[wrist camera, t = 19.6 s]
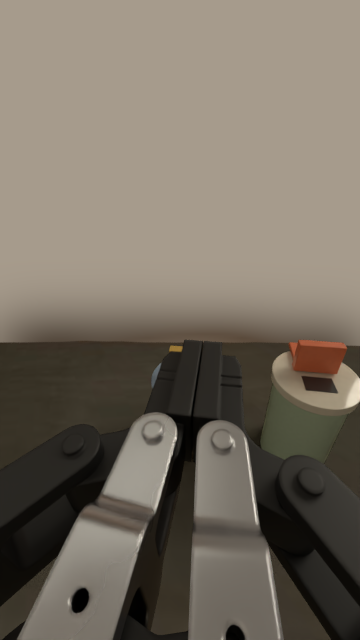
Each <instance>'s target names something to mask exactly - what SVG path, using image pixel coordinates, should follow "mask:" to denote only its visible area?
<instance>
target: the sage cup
mask: <svg viewBox="0 0 360 640" xmlns="http://www.w3.org/2000/svg"><path fill="white" fill-rule="evenodd" d="M292 363H293V358H292V355H291V351H289V352H286V353H283V354H281V355H280V356H278V357H277V358H276V359H275V361H274V362H273V365H272V370H271V379H272V382H273V383H272V387H271V392H270V396H269V401H268V405H267V410H266V414H265V419H264V423H263V427H262V432H261V437H260V443H261V448H262V449H263V450H265V451H267V452H269V453H271V454H273V455H275V456H278V457H280V458H282V459H284V460H285V459H286V458H288V457H290V456H293V455H305V456H309V457H312V458H314V459H316V460H318V461H320V462H321V463H323V464H325V462H326V460H327V458H328V456H329V454H330V452H331V450H332V448H333V446H334V443H335V441H336V439H337V437H338V435H339V433H340V431H341V429H342V427H343V425H344V423H345V421H346V419H347V417H348V415H349V413H350V412H352V411H354V410H355V409H356V408H357V407H358V406H359V404H360V379H359V377H358V376H357V375H356V374H355V372H354V371H352V370H351V369H350V368H349V367H348V366H347V365H345V364H344V363H341V365H340V368H339V370H338V373H337V374H327V373H316V372H305V371H294V370H293V366H292Z"/></svg>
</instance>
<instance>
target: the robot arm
mask: <svg viewBox="0 0 360 640" xmlns="http://www.w3.org/2000/svg"><path fill="white" fill-rule="evenodd" d="M192 452H193V462H196V471H195V496H194V521H193V534H192V556H191V580H190V604H189V629H188V631H186V632H180V633H174V634H167V635H156V634H154V633H152V632H151V627H152V622H153V618H154V613H155V609H156V604H157V599H158V595H159V589H160V583H161V577H162V567H163V560H164V555H165V550H166V546H167V542H168V537H169V533H170V528H171V524H172V520H173V515H174V511H175V506H176V502H177V498H178V493H179V489H180V482H181V478H182V472H183V465H184V461H190V462H191V460H192ZM266 540H267V541H266ZM267 542H268V544H269V546H270V547H271V549H272V551H273V552H274V554H275V555H276V557H277V558H278V560H279V561H280V563H281V564H282V566H283V567H284V569H285V570H286V572H287V573H288V575H289V576H290V578H291V579H292V581H293V582H294V584H295V585H296V587H297V588H298V590H299V591H300V593H301V594H302V596H303V597H304V599H305V600H306V602H307V603H308V605H309V606H310V608H311V609H312V611H313V612H314V614H315V615H316V617H317V619H318V620H319V622H320V623H321V625H322V626H323V628H324V629H325V631H326V632H327V634H328V635H329V637H330V638H331V640H360V498H359V497H358V496H357V495H356V494H355V493H353V492H352V491H351V490H350V489H349V488H348V487H347V486H346V485H345V484H344V483H343V482H342V481H341V480H340V479H339V478H338V477H337V476H336V475H335V474H334V473H333V472H332V471H331V470H330V469H329V468H328V467H326V466H325V465H324V464H323V463H321V462H320V461H318V460H316V459H314V458H312V457H309V456H305V455H293V456H290V457H288V458H286V459H285V460H284V459H282V458H280V457H278V456H275V455H273V454H271V453H269V452H267V451H265V450H263V449H261V448H260V447H258V446H257V445H256V444H255V443H254V442H253V441H252V440H251V439H250V437H249V436H248V434H247V432H246V429H245V426H244V411H243V391H242V372H241V365H240V363H239V362H238V360H237V359H236V357H235V356H224V355H222V342H209V341H204V345H203V341H195V340H184V344H183V348H182V351H181V352H175V351H171V352H170V353H169V354H168V355H167V356H166V357H165V358H164V359H163V360H162V363H161V366H160V370H159V372H158V375H157V379H156V381H155V384H154V387H153V390H152V393H151V396H150V398H149V401H148V404H147V407H146V410H145V413H144V415H143V416H141V417H140V418H138V419H137V420H136V421H135V422H134V423H133V425H132V426H131V427H130V428H128V429H126V430H123V431H119V432H113V433H107V434H102V435H99V433H98V431H97V430H96V429H95V428H94V427H93V426H90V425H86V424H80V425H75V426H72V427H69V428H67V429H66V430H64V431H62V432H61V433H59V434H57V435H56V436H54V437H53V438H51V439H49V440H48V441H46V442H44V443H43V444H41V445H40V446H38V447H36V448H35V449H33V450H32V451H30V452H28V453H27V454H25V455H24V456H22V457H20V458H19V459H17V460H15V461H14V462H12V463H11V464H9V465H7V466H6V467H4V468H3V469H1V470H0V606H2V605H3V604H4V603H5V602H6V601H7V600H8V599H9V598H11V597H12V596H13V595H14V594H15V593H16V592H17V591H18V590H20V589H21V588H22V587H23V586H24V585H25V584H26V583H27V582H29V581H30V580H31V579H32V578H33V577H34V576H35V575H36V574H38V573H39V572H40V571H41V570H42V569H43V568H44V567H46V566H47V565H48V564H49V563H50V562H51V561H52V560H53V559H55V558H56V557H57V556H58V557H57V559H56V561H55V563H54V565H53V567H52V569H51V571H50V573H49V575H48V577H47V579H46V581H45V583H44V585H43V587H42V589H41V591H40V593H39V595H38V598H37V600H36V602H35V604H34V606H33V608H32V610H31V612H30V614H29V616H28V618H27V620H26V621H25V622H23V623H22V624H20V625H19V626H18V627H17V628H15V629H14V630H13V631H12V632H10V633H9V634H8V635H7V636H6V637H5V638H4V639H3V640H284V639H283V632H282V626H281V620H280V613H279V607H278V601H277V595H276V588H275V582H274V576H273V569H272V563H271V557H270V552H269V548H268V544H267Z"/></svg>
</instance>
